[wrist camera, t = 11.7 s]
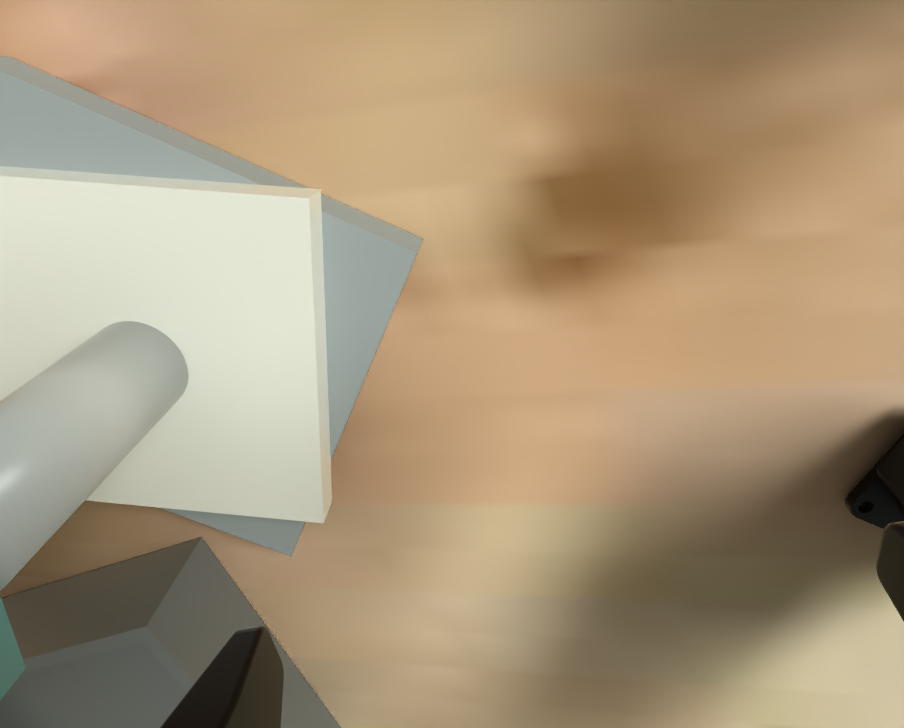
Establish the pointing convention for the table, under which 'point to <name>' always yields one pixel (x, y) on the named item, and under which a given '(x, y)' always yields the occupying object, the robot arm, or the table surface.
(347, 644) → the table surface
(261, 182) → the pad
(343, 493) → the table surface
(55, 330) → the cover
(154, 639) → the housing
